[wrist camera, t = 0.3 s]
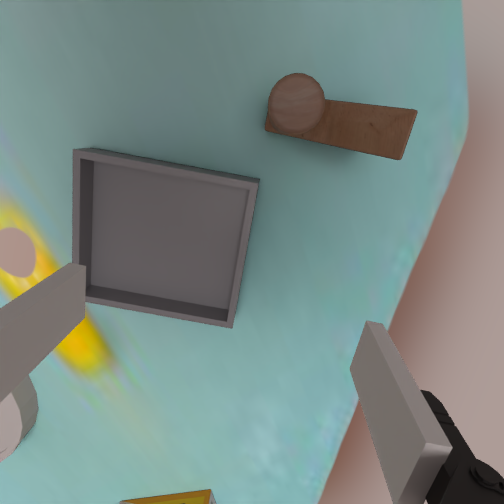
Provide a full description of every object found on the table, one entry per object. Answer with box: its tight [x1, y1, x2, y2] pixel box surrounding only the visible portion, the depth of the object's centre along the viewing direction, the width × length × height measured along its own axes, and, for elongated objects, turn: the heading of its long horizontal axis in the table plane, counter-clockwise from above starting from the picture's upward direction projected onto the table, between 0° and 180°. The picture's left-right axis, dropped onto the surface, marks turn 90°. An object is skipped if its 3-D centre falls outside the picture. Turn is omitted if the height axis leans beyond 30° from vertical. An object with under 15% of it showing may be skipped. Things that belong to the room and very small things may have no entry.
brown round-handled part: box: [265, 73, 418, 160], centre depth 30 cm, size 4×11×18 cm, turn 78°
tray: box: [72, 148, 260, 328], centre depth 42 cm, size 18×20×4 cm
